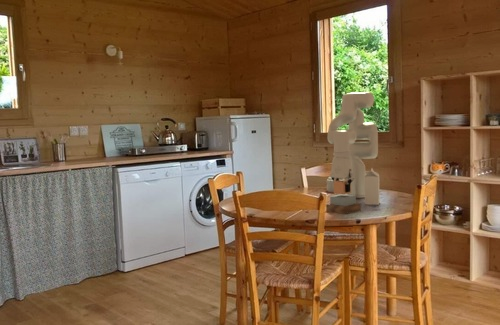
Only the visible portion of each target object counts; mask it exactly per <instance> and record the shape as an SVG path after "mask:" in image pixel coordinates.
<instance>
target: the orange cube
mask: <svg viewBox="0 0 500 325" xmlns="http://www.w3.org/2000/svg"><path fill="white" fill-rule="evenodd" d="M345 184H346V182H345V180H338V181H334V192H333V194H335V195H338V194H348V193H351V184H350V192H345Z"/></svg>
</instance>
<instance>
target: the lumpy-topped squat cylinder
mask: <svg viewBox="0 0 500 325" xmlns="http://www.w3.org/2000/svg"><path fill="white" fill-rule="evenodd" d="M339 180H345V179H339ZM326 192H328V193H334V182H333V180H332V178H331V177H330V176H328V177H327V179H326Z"/></svg>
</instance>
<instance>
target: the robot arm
mask: <svg viewBox="0 0 500 325" xmlns="http://www.w3.org/2000/svg"><path fill="white" fill-rule="evenodd" d="M341 101H342V102H341V107H340V112H339V114H338V115H336V116H335V117H334V118H333V119H332V120H331V122H330V123H329V126H328V131H327V138H326V139H327V142H328V143H329V144H331V145H333V152H332V155H333V157H332V161H331V167H330V168H331V169H330V173H329V177H331V178H332V180H333V182H334V181H338V180H339V179H345V182H346V184H345V192H350V184H351V193H348V194H347V195H355V196H356V199H363V198H364V199H365V183H364V177H365V175H366V172H367V170H366V165H365V163H364V162H363V160H362V159H364V160H365V159H369V160H370V159H376V158H377V157H378V155H379V154H378V153H379V134H378V131H379V130H378V126H377V124H376V123H374V122H365V119H364V118H365V115H364V114H365V113H363V111H362V109H369V108H371V107H373V105H374V103H375V97H374V93H372V92H371V91H362V92H348V93H344V94H343V95H342V97H341ZM346 125H348V128H346V129H342V128H341V127H343V126H346ZM339 128H340V129H339ZM357 140H359V141H357ZM360 140H363V141H360ZM364 140H367V141H364Z"/></svg>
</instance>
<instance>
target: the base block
mask: <svg viewBox="0 0 500 325" xmlns="http://www.w3.org/2000/svg"><path fill="white" fill-rule="evenodd" d="M361 206H362V204H361V203H359V202H356V204H352V205H348V206H340V205H333V204H330V203H326V204H325V208H326V210H325V211H326V212H329V213H336V214H342V215H348V214H351V213H357V212H359V211H361V210H362V208H361Z"/></svg>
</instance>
